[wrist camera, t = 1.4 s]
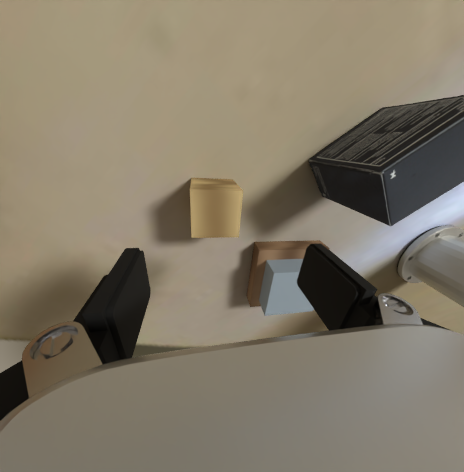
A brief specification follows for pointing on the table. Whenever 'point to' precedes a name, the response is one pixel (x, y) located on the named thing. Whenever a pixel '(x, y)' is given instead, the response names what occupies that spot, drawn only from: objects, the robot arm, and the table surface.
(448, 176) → the small box
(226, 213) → the block
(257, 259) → the tower base
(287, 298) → the tower top
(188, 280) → the table surface
